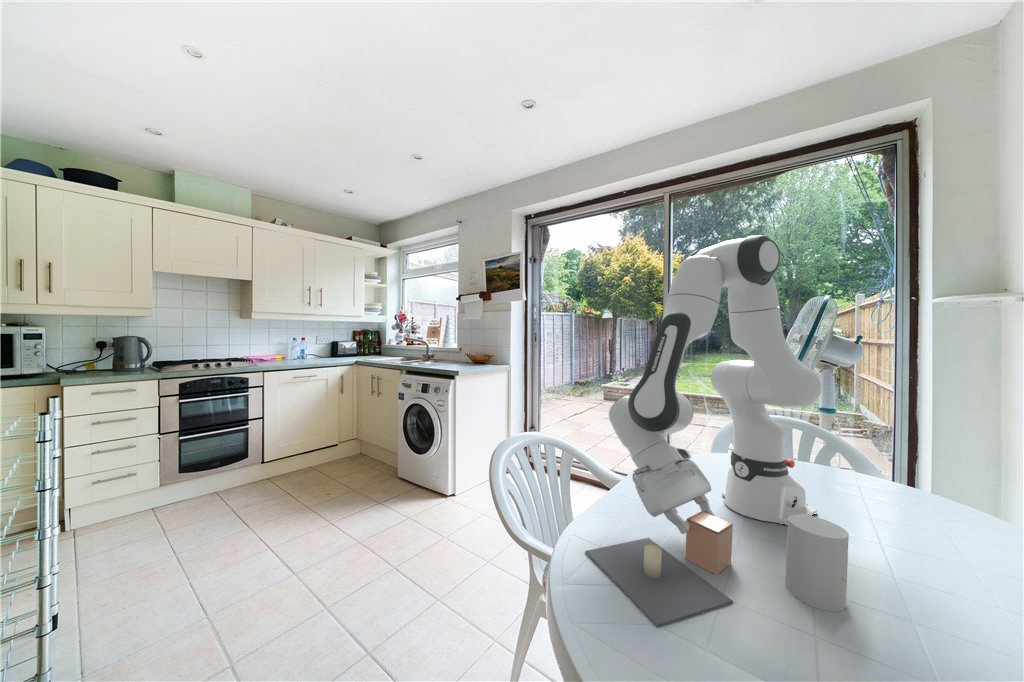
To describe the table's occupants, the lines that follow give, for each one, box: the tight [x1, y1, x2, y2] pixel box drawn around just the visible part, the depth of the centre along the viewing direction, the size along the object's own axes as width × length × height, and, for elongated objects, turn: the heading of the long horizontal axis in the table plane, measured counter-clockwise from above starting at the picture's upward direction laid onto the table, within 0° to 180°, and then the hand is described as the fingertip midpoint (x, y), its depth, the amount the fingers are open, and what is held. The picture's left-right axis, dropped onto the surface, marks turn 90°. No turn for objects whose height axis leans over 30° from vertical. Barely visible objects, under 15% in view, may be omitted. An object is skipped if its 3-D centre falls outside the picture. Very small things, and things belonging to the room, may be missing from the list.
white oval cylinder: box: [784, 515, 850, 613], centre depth 64 cm, size 8×8×12 cm
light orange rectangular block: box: [684, 510, 734, 576], centre depth 72 cm, size 6×6×8 cm
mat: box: [584, 537, 734, 628], centre depth 67 cm, size 16×20×5 cm
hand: (699, 525), depth 73 cm, fingers open, 8 cm apart
